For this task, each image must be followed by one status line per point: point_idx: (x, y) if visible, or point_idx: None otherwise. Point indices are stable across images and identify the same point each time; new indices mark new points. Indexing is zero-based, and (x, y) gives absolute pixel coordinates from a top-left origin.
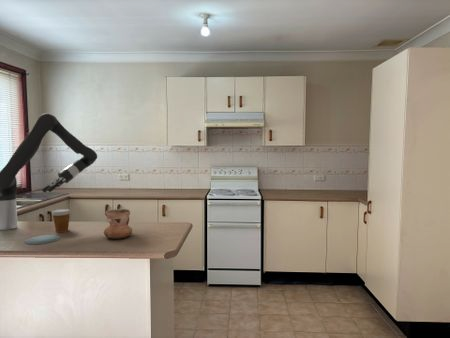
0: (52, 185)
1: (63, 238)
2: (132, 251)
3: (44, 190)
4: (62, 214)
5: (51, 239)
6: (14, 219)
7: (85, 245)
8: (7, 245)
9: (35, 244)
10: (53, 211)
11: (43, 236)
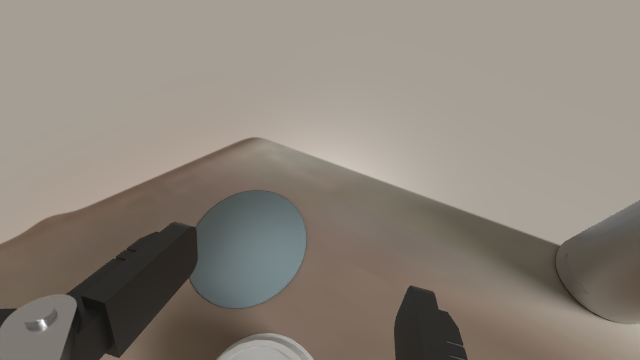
0: (94, 287)
1: (180, 297)
2: None
3: (403, 323)
4: None
5: (211, 257)
6: (605, 277)
7: (42, 278)
8: (301, 158)
9: (224, 201)
10: (274, 343)
11: (278, 267)
